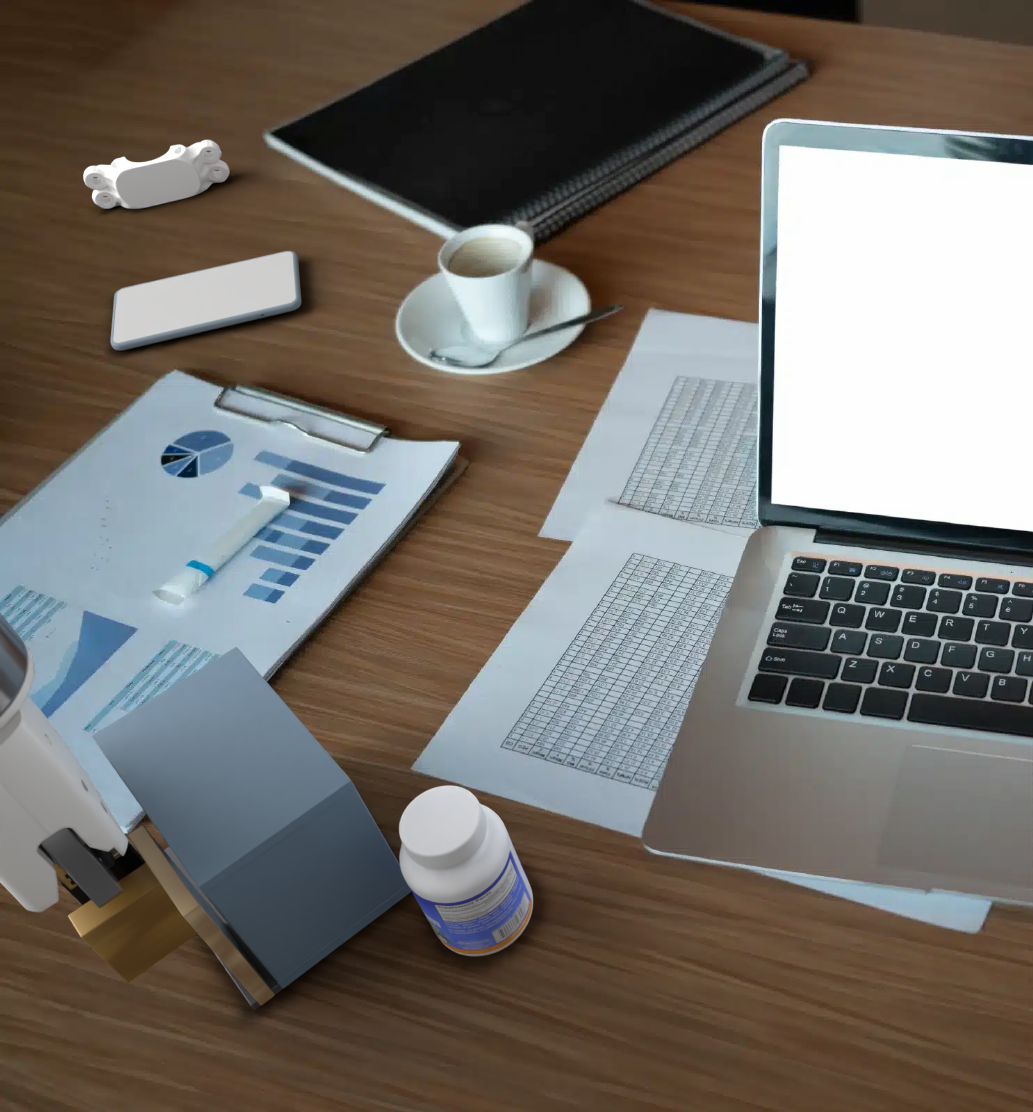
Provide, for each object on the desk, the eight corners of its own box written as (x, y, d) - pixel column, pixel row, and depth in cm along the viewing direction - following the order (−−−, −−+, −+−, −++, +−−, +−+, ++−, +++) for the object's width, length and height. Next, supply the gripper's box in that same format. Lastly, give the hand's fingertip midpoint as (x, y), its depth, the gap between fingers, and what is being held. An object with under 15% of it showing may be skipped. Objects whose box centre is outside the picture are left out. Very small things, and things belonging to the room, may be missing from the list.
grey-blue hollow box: (254, 1010, 68) (165, 910, 59) (153, 864, 74) (59, 755, 66) (414, 889, 72) (351, 780, 64) (306, 761, 78) (236, 646, 70)
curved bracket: (98, 219, 119) (78, 180, 116) (97, 205, 120) (77, 167, 118) (234, 186, 122) (218, 148, 119) (232, 173, 123) (215, 135, 120)
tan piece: (187, 1061, 65) (97, 976, 58) (136, 980, 68) (44, 889, 61) (275, 995, 67) (199, 904, 60) (221, 919, 70) (142, 824, 63)
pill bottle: (430, 884, 72) (376, 789, 65) (527, 855, 73) (485, 758, 66) (441, 974, 69) (386, 883, 61) (543, 941, 69) (501, 849, 62)
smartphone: (113, 288, 110) (295, 247, 112) (119, 297, 111) (299, 257, 113) (108, 347, 105) (299, 302, 107) (114, 356, 105) (303, 312, 108)
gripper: (-237, 632, 55) (-8, 848, 69) (-111, 853, 48) (118, 1045, 61) (-57, 535, 58) (128, 759, 72) (87, 727, 51) (261, 936, 65)
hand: (122, 890), depth 67 cm, fingers closed
